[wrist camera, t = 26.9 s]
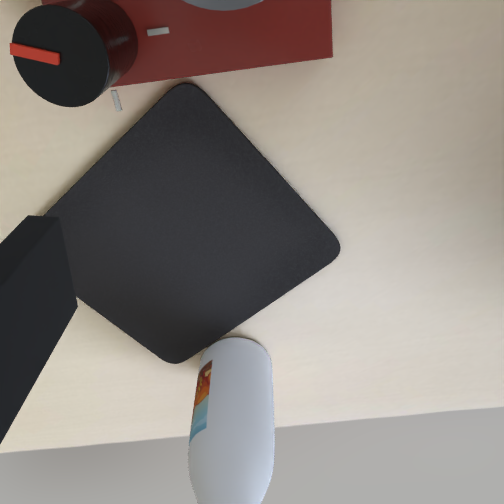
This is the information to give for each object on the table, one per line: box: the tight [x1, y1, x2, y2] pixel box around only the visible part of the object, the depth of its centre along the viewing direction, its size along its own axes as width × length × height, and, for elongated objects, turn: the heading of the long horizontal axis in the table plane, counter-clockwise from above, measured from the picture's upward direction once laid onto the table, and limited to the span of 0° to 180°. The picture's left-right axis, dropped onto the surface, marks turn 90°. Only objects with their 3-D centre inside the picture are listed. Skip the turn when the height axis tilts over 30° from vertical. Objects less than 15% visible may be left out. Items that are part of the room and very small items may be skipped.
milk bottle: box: [188, 337, 275, 504], centre depth 41 cm, size 8×8×20 cm
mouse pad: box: [44, 83, 340, 364], centre depth 42 cm, size 23×20×1 cm
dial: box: [10, 0, 138, 107], centre depth 27 cm, size 5×5×7 cm
